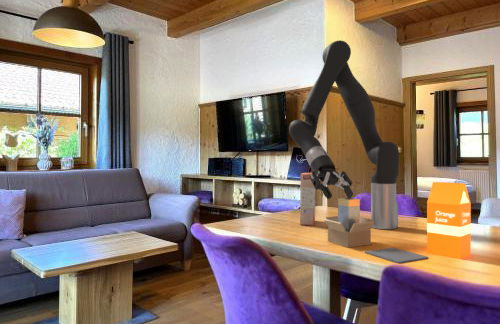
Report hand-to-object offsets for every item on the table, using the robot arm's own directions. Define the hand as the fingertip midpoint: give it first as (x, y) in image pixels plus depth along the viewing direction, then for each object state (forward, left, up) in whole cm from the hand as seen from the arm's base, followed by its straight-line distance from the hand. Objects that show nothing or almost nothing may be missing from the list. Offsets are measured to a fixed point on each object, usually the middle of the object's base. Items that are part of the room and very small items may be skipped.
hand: (340, 197), depth 122 cm
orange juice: (-16, +27, -14) cm, 34 cm away
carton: (0, +4, -14) cm, 15 cm away
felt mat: (-1, +22, -14) cm, 26 cm away
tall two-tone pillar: (0, +4, -14) cm, 15 cm away
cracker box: (-10, -33, -14) cm, 38 cm away
